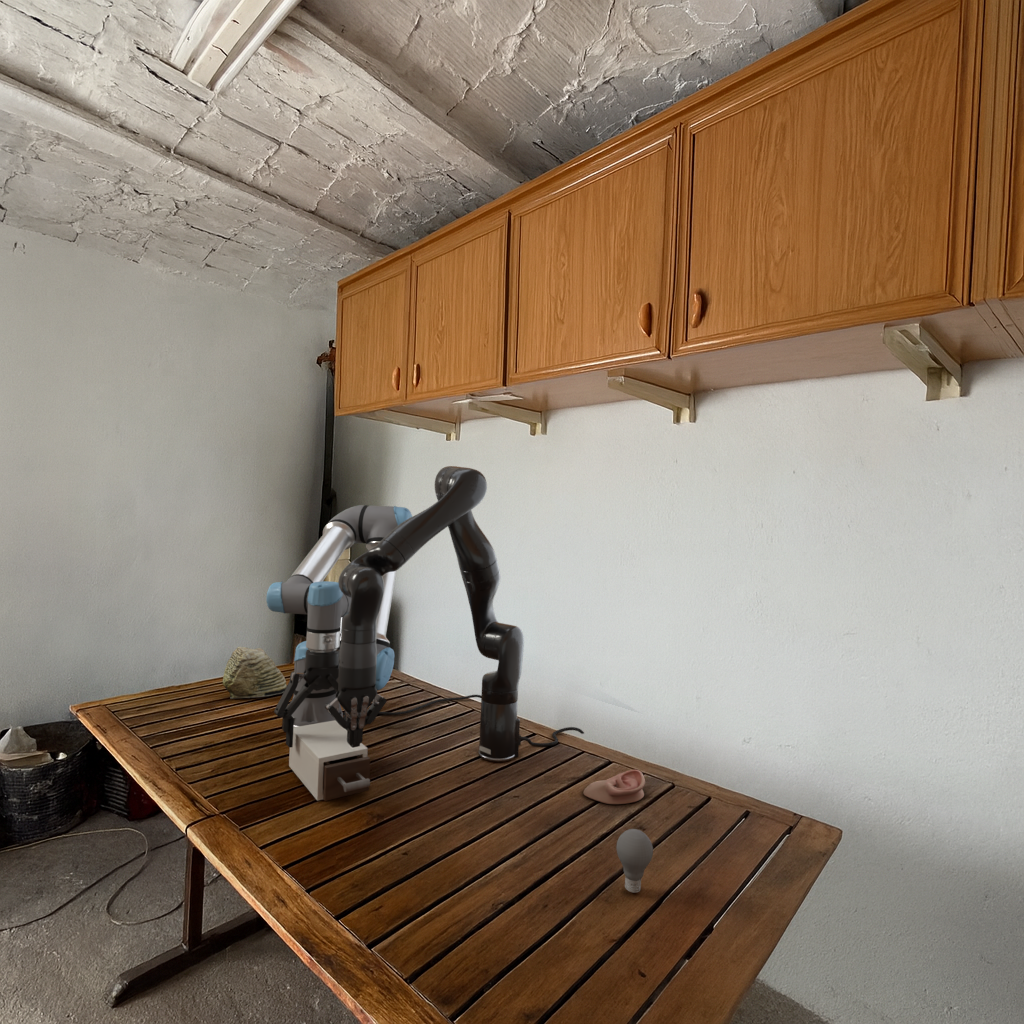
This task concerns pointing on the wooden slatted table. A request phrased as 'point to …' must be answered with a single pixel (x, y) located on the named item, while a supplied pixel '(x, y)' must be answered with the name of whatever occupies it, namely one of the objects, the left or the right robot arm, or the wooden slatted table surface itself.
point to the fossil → (252, 674)
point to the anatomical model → (618, 788)
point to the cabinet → (319, 752)
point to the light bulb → (634, 857)
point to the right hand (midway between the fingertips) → (354, 745)
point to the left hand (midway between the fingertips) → (318, 740)
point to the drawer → (345, 777)
